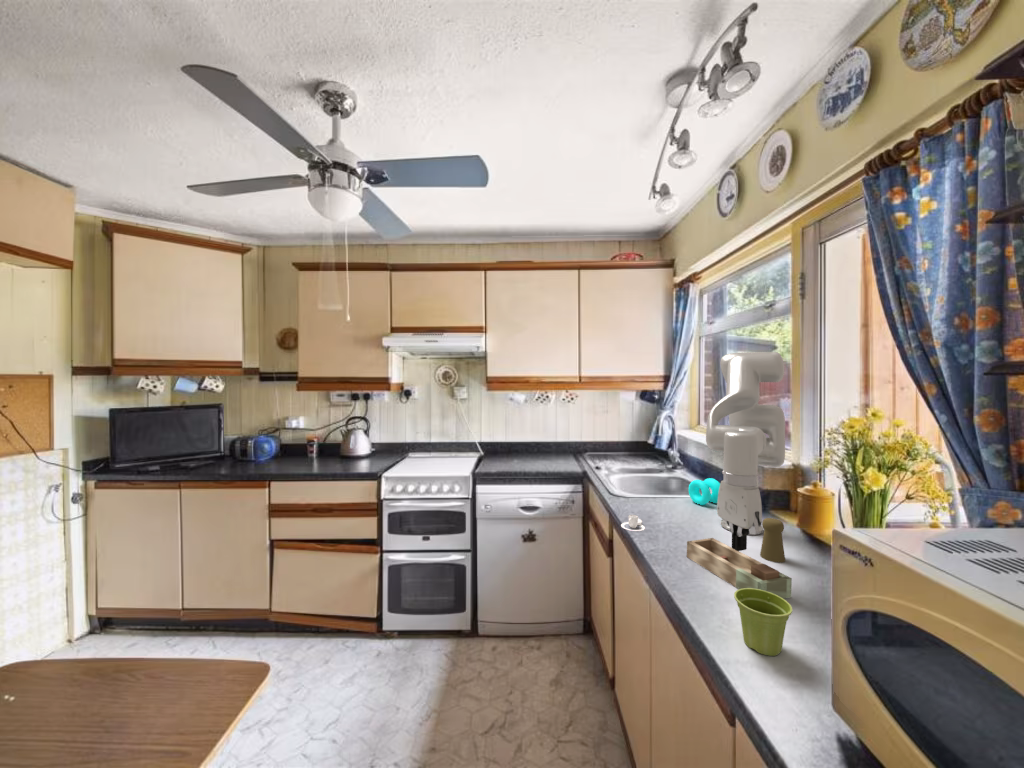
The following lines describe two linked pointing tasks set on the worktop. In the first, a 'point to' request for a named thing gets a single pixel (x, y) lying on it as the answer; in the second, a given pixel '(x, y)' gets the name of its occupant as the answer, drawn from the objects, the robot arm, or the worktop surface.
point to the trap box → (734, 567)
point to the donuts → (704, 491)
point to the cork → (772, 540)
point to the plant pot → (762, 619)
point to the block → (764, 572)
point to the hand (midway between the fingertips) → (739, 548)
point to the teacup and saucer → (633, 523)
